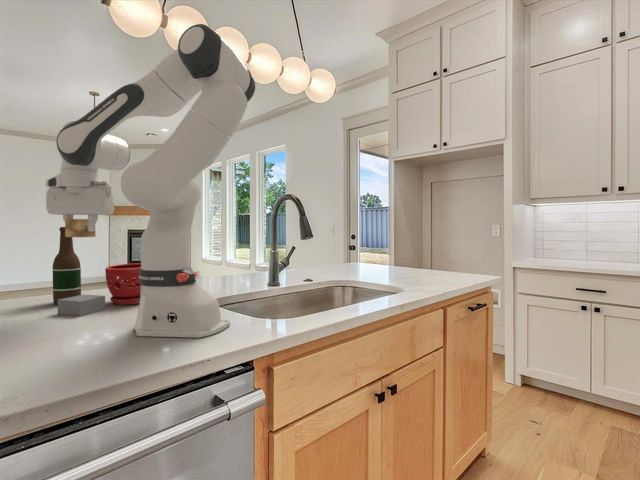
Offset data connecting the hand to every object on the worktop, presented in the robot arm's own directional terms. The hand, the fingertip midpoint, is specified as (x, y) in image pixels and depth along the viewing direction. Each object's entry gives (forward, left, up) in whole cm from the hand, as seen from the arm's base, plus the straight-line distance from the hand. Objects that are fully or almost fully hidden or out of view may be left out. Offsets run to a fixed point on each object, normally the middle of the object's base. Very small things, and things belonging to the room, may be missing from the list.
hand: (80, 231), depth 102 cm
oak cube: (0, 0, -2) cm, 2 cm away
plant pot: (-3, -15, -23) cm, 28 cm away
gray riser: (0, 0, -23) cm, 23 cm away
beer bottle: (+15, -8, -23) cm, 29 cm away
